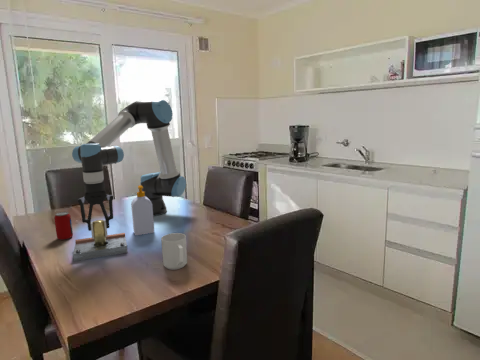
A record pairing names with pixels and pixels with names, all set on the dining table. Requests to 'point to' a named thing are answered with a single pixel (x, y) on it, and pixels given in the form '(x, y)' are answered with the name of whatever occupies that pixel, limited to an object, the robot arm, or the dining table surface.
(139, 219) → the soap bottle
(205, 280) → the dining table surface
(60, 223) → the beverage can
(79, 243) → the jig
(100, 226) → the brass cylinder
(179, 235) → the mug
